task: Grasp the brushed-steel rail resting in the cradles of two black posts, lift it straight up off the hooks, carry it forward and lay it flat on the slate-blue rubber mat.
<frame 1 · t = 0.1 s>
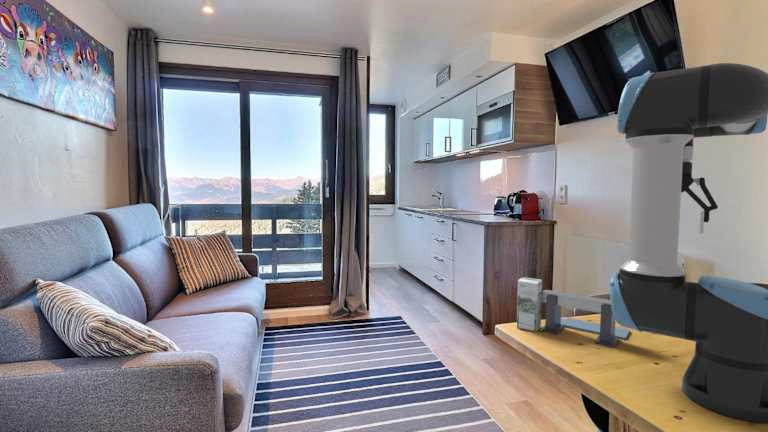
hand: (672, 231, 121), 28 cm above the table, fingers open, 13 cm apart
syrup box: (528, 328, 116), on the table
post far: (552, 329, 115), on the table
post near: (607, 341, 106), on the table
mat: (586, 327, 117), on the table
rail: (580, 307, 110), point 8 cm above the table, touching post far, post near
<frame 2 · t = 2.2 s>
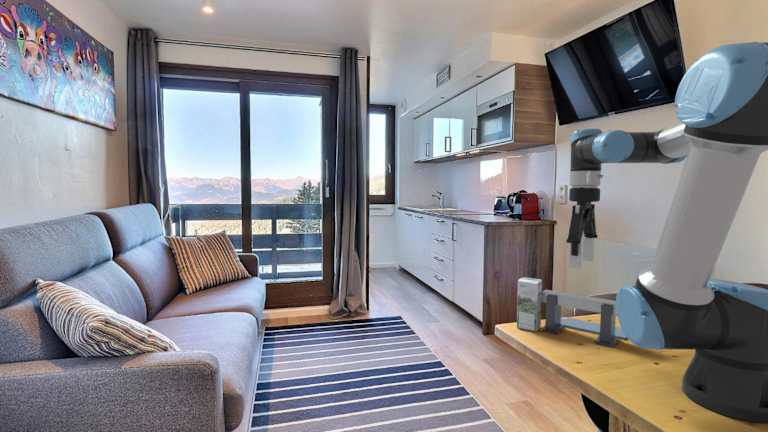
hand: (581, 264, 109), 20 cm above the table, fingers open, 13 cm apart
nothing on the table moved.
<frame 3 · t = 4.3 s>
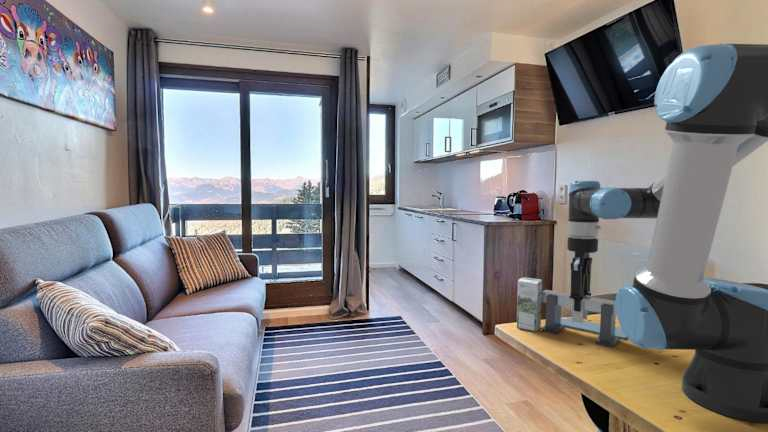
hand: (579, 320, 110), 4 cm above the table, fingers closed on rail, 3 cm apart
rail: (580, 307, 110), point 8 cm above the table, touching gripper, post far, post near
everything else where it was.
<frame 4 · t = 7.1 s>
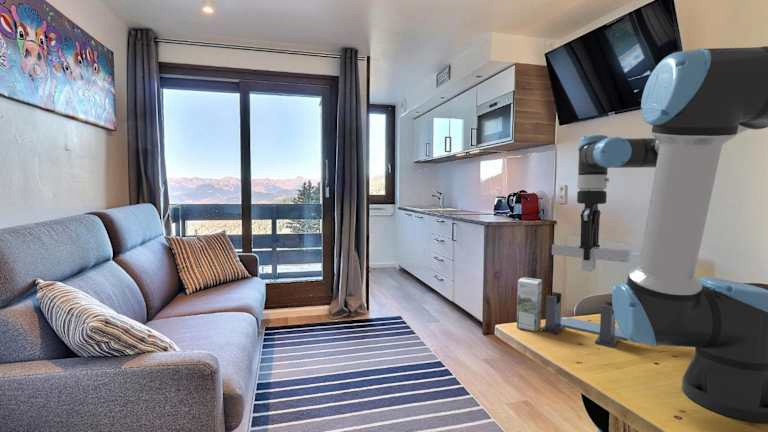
hand: (588, 269, 116), 17 cm above the table, fingers closed on rail, 3 cm apart
rail: (589, 257, 116), point 21 cm above the table, touching gripper
everything else where it was.
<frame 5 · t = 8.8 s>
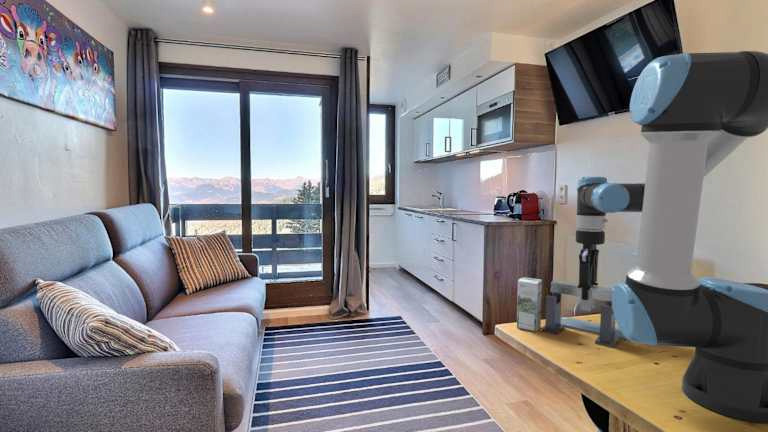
hand: (587, 308, 117), 6 cm above the table, fingers closed on rail, 3 cm apart
rail: (587, 296, 116), point 9 cm above the table, touching gripper
everything else where it was.
when the fingers open (1 cm above the table, at t = 10.0 s): rail drops 4 cm, resting on mat.
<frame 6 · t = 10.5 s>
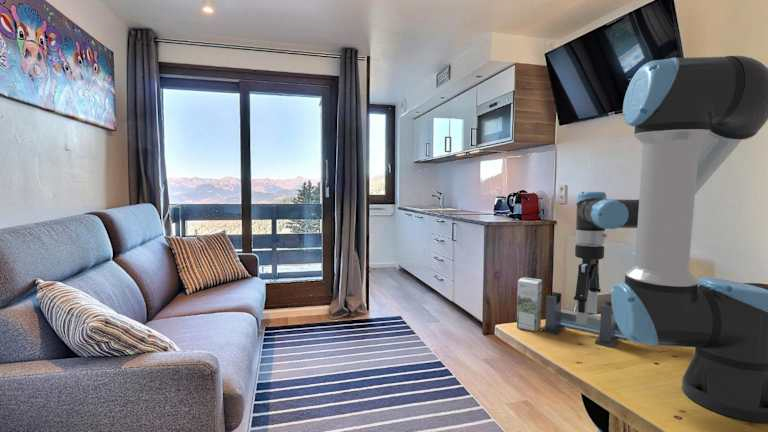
hand: (586, 317, 117), 3 cm above the table, fingers open, 11 cm apart
rail: (586, 325, 117), point 1 cm above the table, touching mat
everything else where it was.
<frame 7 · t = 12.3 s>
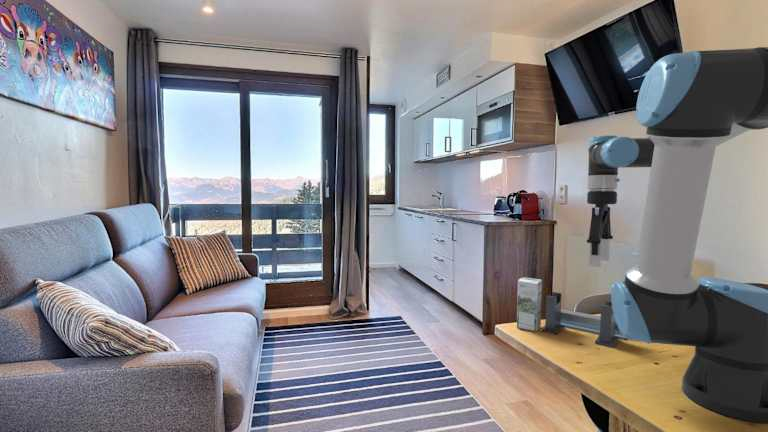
hand: (599, 263, 115), 19 cm above the table, fingers open, 13 cm apart
nothing on the table moved.
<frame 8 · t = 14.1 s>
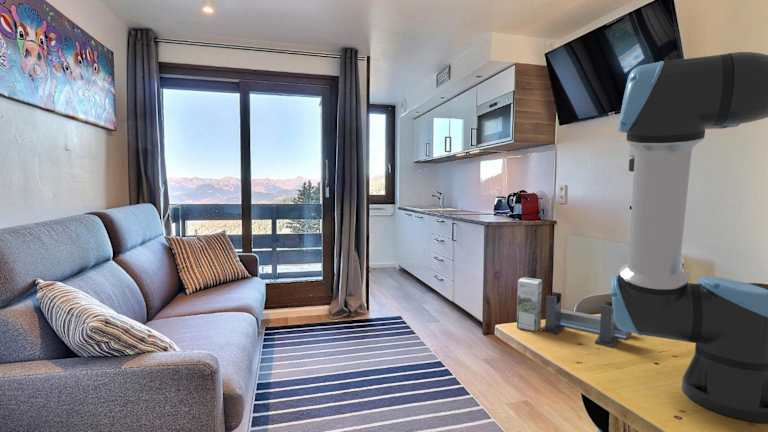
hand: (641, 231, 114), 29 cm above the table, fingers open, 13 cm apart
nothing on the table moved.
at the end: rail inside the target area on the mat (0.1 cm from its centre), point 0.6 cm above the mat's base; rail tilted 0°; the gripper is holding nothing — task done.
